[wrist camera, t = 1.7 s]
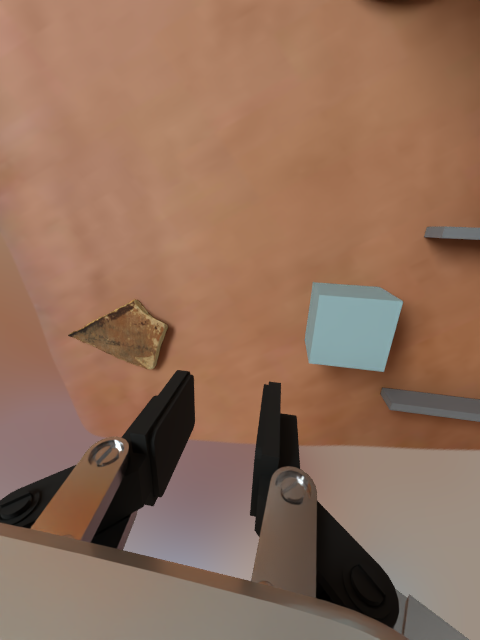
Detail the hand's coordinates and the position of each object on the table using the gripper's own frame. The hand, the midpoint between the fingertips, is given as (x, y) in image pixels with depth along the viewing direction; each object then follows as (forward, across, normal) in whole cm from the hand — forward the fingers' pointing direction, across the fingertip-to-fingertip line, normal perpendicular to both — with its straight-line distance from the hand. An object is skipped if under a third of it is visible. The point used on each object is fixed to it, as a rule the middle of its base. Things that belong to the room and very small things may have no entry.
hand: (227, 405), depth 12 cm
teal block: (+15, -8, 0) cm, 17 cm away
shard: (+16, +15, +6) cm, 23 cm away
